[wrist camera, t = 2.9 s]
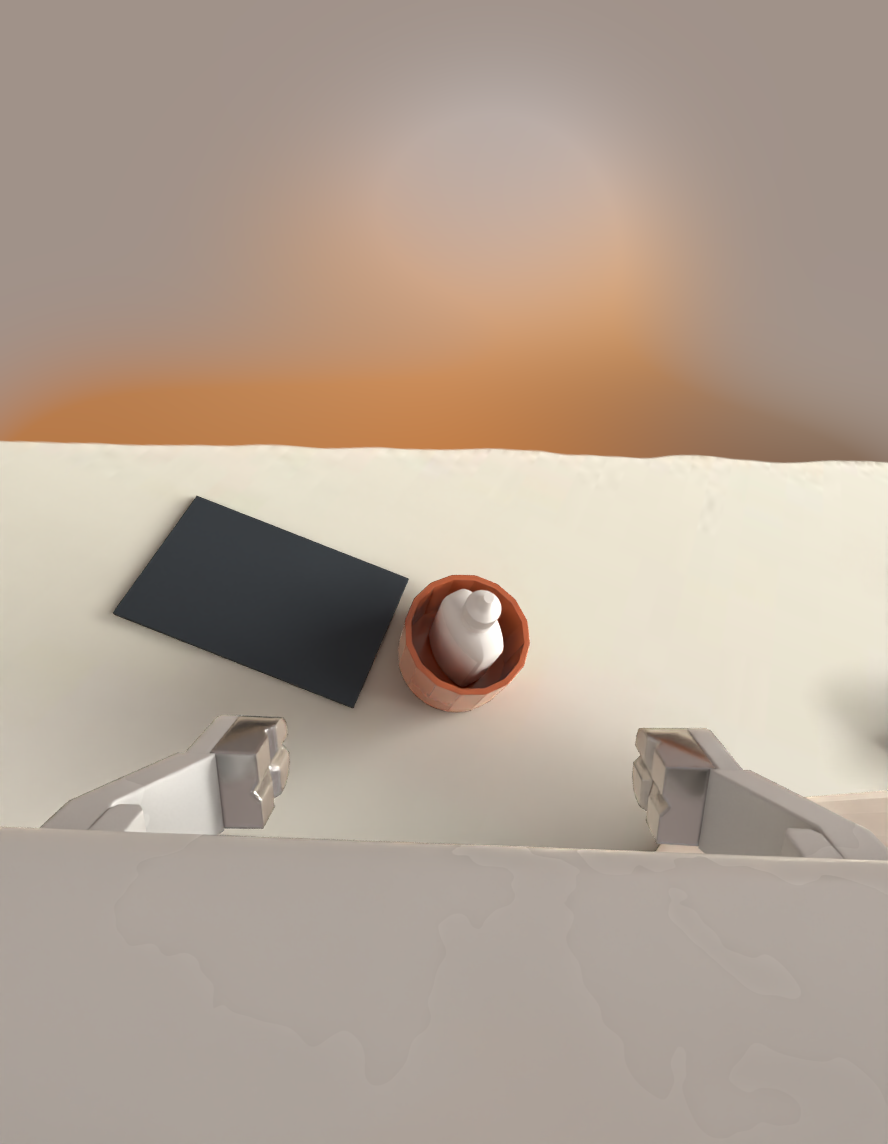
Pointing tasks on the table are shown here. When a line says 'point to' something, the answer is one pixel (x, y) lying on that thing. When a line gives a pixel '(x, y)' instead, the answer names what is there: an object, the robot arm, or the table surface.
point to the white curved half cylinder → (870, 810)
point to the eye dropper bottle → (466, 635)
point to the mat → (267, 600)
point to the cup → (423, 667)
